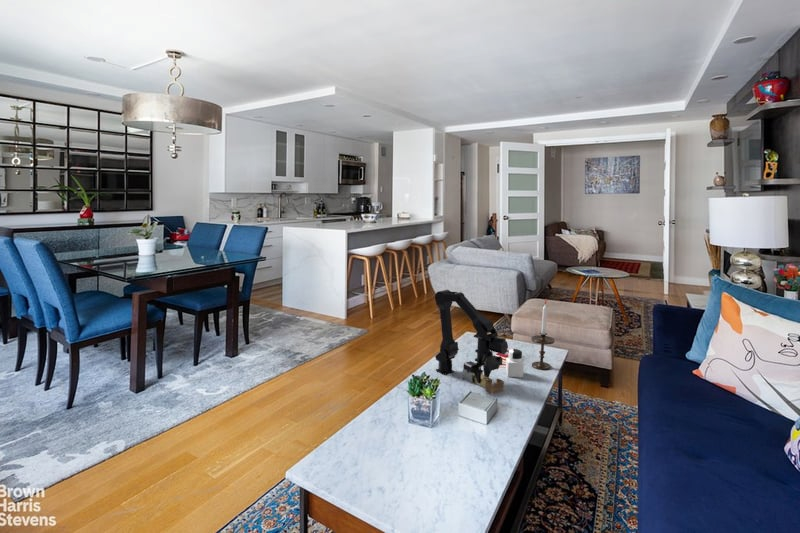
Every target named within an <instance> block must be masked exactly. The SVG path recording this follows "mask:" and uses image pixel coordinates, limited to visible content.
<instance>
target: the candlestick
mask: <svg viewBox="0 0 800 533" xmlns="http://www.w3.org/2000/svg"><path fill="white" fill-rule="evenodd" d="M547 300H548V299H547V298H545V300H544V306H543V307H542V316H541V317H542V320H541V321H542V322H541V332H539V334H538V335H533V336H531V341H532V342H533V343H535V344H539V345H540V350H539V352H538V353H539V354H540V355H539V356H538V358H540V359H539V361H533V362H532V363H531V367H532V368H534V369H535V370H539V371H540V370H541V371H548V370H551V369H552V365H551V364H550V363H548V362H545V361H544V359H545V356H544V355H545V354H546V351H545V345H553V344H554V343H555V342H556V341H555V338H554V337H552V336H547V335H548V333H547V331H546V329H547V312H548V307H547V305H546V304H547Z"/></svg>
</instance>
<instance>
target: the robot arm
mask: <svg viewBox="0 0 800 533" xmlns="http://www.w3.org/2000/svg"><path fill="white" fill-rule="evenodd" d="M434 301H435V304H436V307H437V308H438V310H439V315H440V326H441V337H442V339H441V342H440V346H439V347H440V348H439V352H438V353H437V354H435V356H434V357H435V360H436V361H438V368H436V370H435V371H436V372H438V373H440V374H442V375H445V376H446V375H449V374H453V373H455V370H453V360H452V359H455V358H456V355H457V354H458V353H459V350H460V349H459V342H458V341H455V340H454V337H453V325H452V313H451V308H452V304H453V302H454V303H456V304H457V306H458V307H459V308H460V309H461V310H462V311H463V312H464V313H465V315H466V316H467V317H468V318H469V320H470V321H471V322H472V325H473V328H474V330H475V331H476V333H475V334H474V335H473V338H477V345H476V346H477V348H476V349H475V353H477V354H476V358H474V361H475V362H473V361H471V360H470V361H466V362H464V363H463V369H465V370H467V371H469V372H472V373H474V375H475V377H476V379H477V382H478V383H480V381H481V373H482V372H483V375H485V376H487V377H489V378H490V375H491V373H492V371H495V370H498V369H499V368H500V366H502V365H503V357H502V356H500V355H499V356H497V355H494V354H493V352H494V353H497V354H501V355H506V353H507V351H508V349H509V344H508V341H507V339H506V338H505V337H500V336H499V334H498V332H497V330H496V328H495V326H494V323H493V321H492V320H490V319H489V318H488V317H487V316H485V315H482V313H480V312H479V310H477V308H476V307H475V306H474V305H473V304H472V303H471V302H470V300H469V299H468V298H467V297H466V296H465V294H464V293H463V292H462V291H460V292H459V291H450V289H444V290H443V289H442V290H438V291H437V292H436V293H435V294H434ZM482 368H483V370H482Z"/></svg>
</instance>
